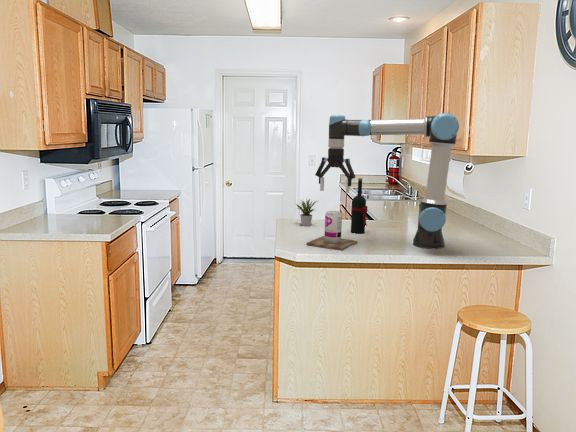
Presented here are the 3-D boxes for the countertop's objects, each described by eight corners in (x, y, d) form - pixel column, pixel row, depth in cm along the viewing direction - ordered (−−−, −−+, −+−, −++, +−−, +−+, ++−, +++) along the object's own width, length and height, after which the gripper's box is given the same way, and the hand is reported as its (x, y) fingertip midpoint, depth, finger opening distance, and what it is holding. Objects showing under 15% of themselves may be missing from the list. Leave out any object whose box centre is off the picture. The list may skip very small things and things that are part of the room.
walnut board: (357, 243, 258) (357, 240, 258) (342, 250, 242) (342, 248, 242) (323, 238, 268) (323, 235, 267) (306, 245, 251) (306, 242, 251)
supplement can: (329, 244, 249) (330, 213, 247) (321, 240, 257) (322, 210, 254) (343, 242, 253) (345, 213, 250) (335, 239, 260) (336, 210, 257)
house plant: (314, 222, 309) (315, 195, 306) (323, 227, 296) (324, 199, 293) (292, 223, 305) (293, 196, 302) (300, 228, 292) (301, 199, 289)
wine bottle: (360, 235, 276) (363, 179, 271) (347, 231, 284) (350, 177, 279) (370, 233, 281) (373, 179, 275) (358, 230, 289) (360, 177, 284)
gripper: (309, 147, 249) (308, 190, 253) (357, 149, 237) (355, 194, 241) (316, 146, 256) (315, 188, 259) (363, 148, 243) (361, 193, 247)
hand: (334, 191), depth 250 cm, fingers open, 13 cm apart
